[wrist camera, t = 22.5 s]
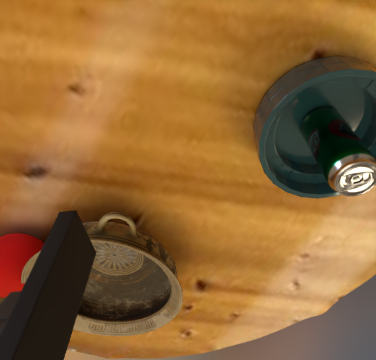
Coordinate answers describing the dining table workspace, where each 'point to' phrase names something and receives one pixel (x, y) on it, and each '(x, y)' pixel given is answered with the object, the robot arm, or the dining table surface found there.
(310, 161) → the glazed bowl
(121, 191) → the dining table surface
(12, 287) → the tomato
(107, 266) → the ceramic bowl
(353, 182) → the soda can
